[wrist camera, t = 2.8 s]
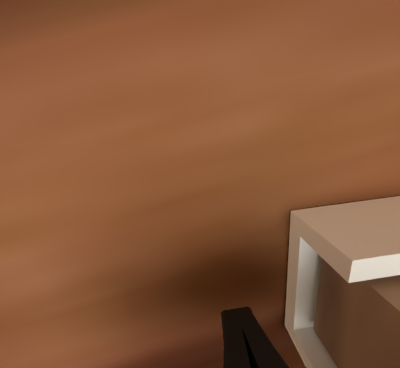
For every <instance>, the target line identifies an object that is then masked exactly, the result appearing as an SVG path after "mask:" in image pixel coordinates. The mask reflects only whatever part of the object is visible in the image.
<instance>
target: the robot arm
mask: <svg viewBox="0 0 400 368" xmlns="http://www.w3.org/2000/svg"><path fill="white" fill-rule="evenodd" d="M221 318H222V328H223V339H224V368H289V367H288V366H287V364H286V363H285V362H284V360H283V359H282V357H281V356H280V355H279V353H278V352H277V350H276V349H275V348H274V346H273V345H272V343H271V342H270V340H269V339H268V337H267V336H266V334H265V333H264V331H263V330H262V328H261V326H260V325H259V323H258V322H257V320H256V318H255V316H254V315H253V313H252V311H251V309H250V308H249V307H243V308H237V309H231V310H224V311H222V312H221Z"/></svg>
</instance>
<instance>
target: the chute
mask: <svg viewBox="0 0 400 368" xmlns="http://www.w3.org/2000/svg"><path fill="white" fill-rule="evenodd" d="M322 258H323V259H324V260H325V261H326V262H327V263H328V264H329V265H330V266H331V267H332V268H333V269H334V270H335V271H336V272H337V273H338V274H340V275H341V276H342V277H343V278H344V279H345V280H346V281H347V282H348V283H352V282H359V281H365V280H371V279H377V278H384V277H390V276H396V275H400V196H396V197H388V198H381V199H373V200H366V201H359V202H351V203H344V204H337V205H329V206H322V207H314V208H307V209H300V210H292V211H291V216H290V234H289V253H288V272H287V291H286V310H285V327H286V329H287V331H288V333H289V335H290V337H291V339H292V341H293V343H294V345H295V347H296V349H297V351H298V353H299V355H300V356H301V358H302V360H303V362H304V364H305V366H306V368H338V367H337V366H336V364H335V362H334V361H333V359H332V358H331V356H330V355H329V353H328V351H327V350H326V348H325V347H324V345H323V344H322V342H321V340H320V339H319V337H318V336H317V334H316V333H315V331H314V321H315V312H316V304H317V296H318V287H319V279H320V271H321V262H322Z"/></svg>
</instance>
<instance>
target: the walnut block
mask: <svg viewBox="0 0 400 368" xmlns="http://www.w3.org/2000/svg"><path fill="white" fill-rule="evenodd" d="M314 331H315V333H316V334H317V336H318V337H319V339H320V340H321V342H322V344H323V345H324V347H325V348H326V350H327V351H328V353H329V355H330V356H331V358H332V359H333V361H334V362H335V364H336V366H337V367H338V368H400V275H396V276H390V277H384V278H377V279H371V280H365V281H359V282H352V283H348V282H347V281H346V280H345V279H344V278H343V277H342V276H341V275H340V274H338V273H337V272H336V271H335V270H334V269H333V268H332V267H331V266H330V265H329V264H328V263H327V262H326V261H325V260H324V259H323V258H322V262H321V271H320V279H319V287H318V296H317V304H316V312H315V321H314Z"/></svg>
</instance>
